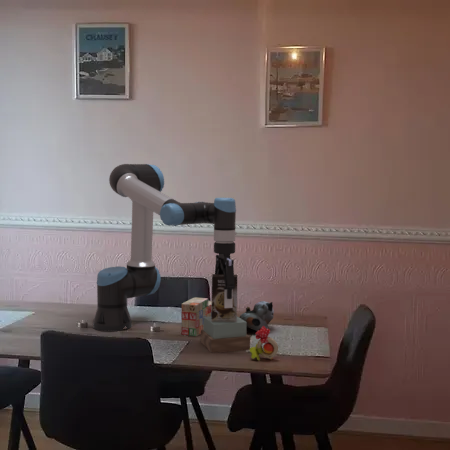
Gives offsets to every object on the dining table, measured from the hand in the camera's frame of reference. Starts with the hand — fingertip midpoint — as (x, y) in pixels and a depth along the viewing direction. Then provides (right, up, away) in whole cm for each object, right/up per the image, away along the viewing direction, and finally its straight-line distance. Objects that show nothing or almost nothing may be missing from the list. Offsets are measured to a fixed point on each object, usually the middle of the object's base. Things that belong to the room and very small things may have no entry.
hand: (224, 304), depth 215 cm
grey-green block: (0, -11, +2) cm, 11 cm away
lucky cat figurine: (+12, -14, +25) cm, 31 cm away
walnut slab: (0, -16, +3) cm, 16 cm away
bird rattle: (+13, -17, -12) cm, 25 cm away
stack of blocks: (-10, -13, +26) cm, 31 cm away
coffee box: (0, -6, +1) cm, 6 cm away
